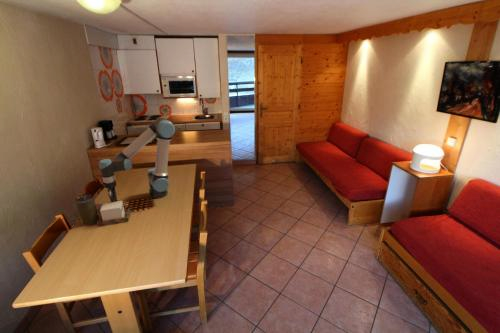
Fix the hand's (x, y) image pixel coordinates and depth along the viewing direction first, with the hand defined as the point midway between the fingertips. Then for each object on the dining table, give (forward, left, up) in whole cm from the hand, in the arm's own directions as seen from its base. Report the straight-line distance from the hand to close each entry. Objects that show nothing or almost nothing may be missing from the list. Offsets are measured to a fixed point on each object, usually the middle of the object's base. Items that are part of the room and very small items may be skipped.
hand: (116, 209), depth 183 cm
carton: (0, +9, -2) cm, 9 cm away
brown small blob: (+12, -8, -2) cm, 15 cm away
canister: (+15, +6, -2) cm, 17 cm away
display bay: (0, +8, -2) cm, 8 cm away
